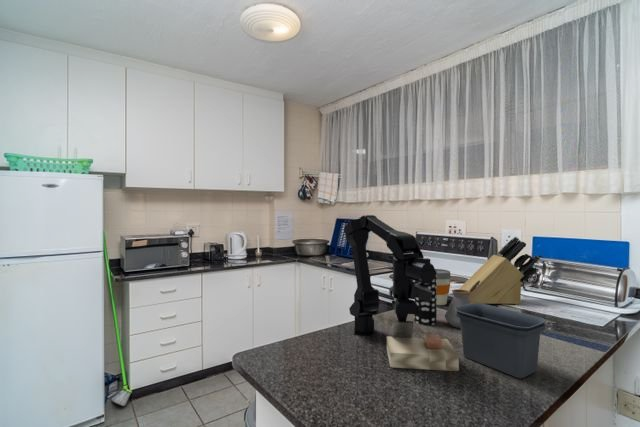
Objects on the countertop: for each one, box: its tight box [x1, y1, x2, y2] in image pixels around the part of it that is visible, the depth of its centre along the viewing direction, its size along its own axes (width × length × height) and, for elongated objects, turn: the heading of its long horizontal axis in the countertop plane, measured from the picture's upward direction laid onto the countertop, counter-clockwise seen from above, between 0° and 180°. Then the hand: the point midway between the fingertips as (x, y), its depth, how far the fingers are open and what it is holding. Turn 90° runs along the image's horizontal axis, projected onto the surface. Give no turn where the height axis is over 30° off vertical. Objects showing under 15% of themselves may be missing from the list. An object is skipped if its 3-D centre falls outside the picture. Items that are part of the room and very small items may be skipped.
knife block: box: [458, 236, 541, 305], centre depth 156 cm, size 11×35×31 cm, turn 89°
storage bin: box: [455, 303, 548, 379], centre depth 92 cm, size 21×16×14 cm
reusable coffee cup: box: [435, 268, 452, 306], centre depth 154 cm, size 13×13×15 cm
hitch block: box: [386, 335, 460, 372], centre depth 94 cm, size 18×12×4 cm, turn 83°
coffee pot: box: [444, 281, 483, 329], centre depth 126 cm, size 21×12×15 cm, turn 129°
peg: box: [423, 333, 443, 350], centre depth 94 cm, size 4×4×7 cm
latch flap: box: [391, 319, 414, 338], centre depth 99 cm, size 6×6×1 cm
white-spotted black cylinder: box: [413, 270, 438, 326], centre depth 127 cm, size 8×8×20 cm
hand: (402, 326), depth 99 cm, fingers closed, pressing on latch flap
